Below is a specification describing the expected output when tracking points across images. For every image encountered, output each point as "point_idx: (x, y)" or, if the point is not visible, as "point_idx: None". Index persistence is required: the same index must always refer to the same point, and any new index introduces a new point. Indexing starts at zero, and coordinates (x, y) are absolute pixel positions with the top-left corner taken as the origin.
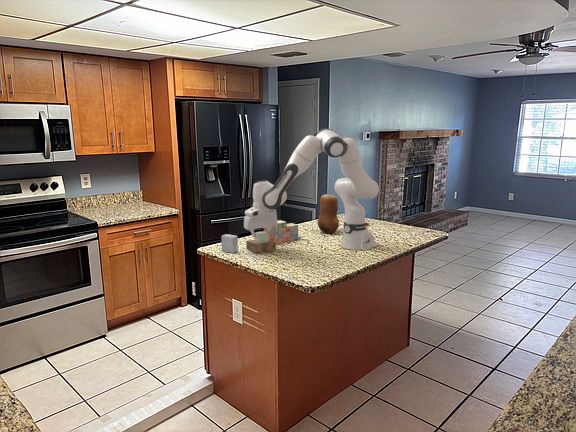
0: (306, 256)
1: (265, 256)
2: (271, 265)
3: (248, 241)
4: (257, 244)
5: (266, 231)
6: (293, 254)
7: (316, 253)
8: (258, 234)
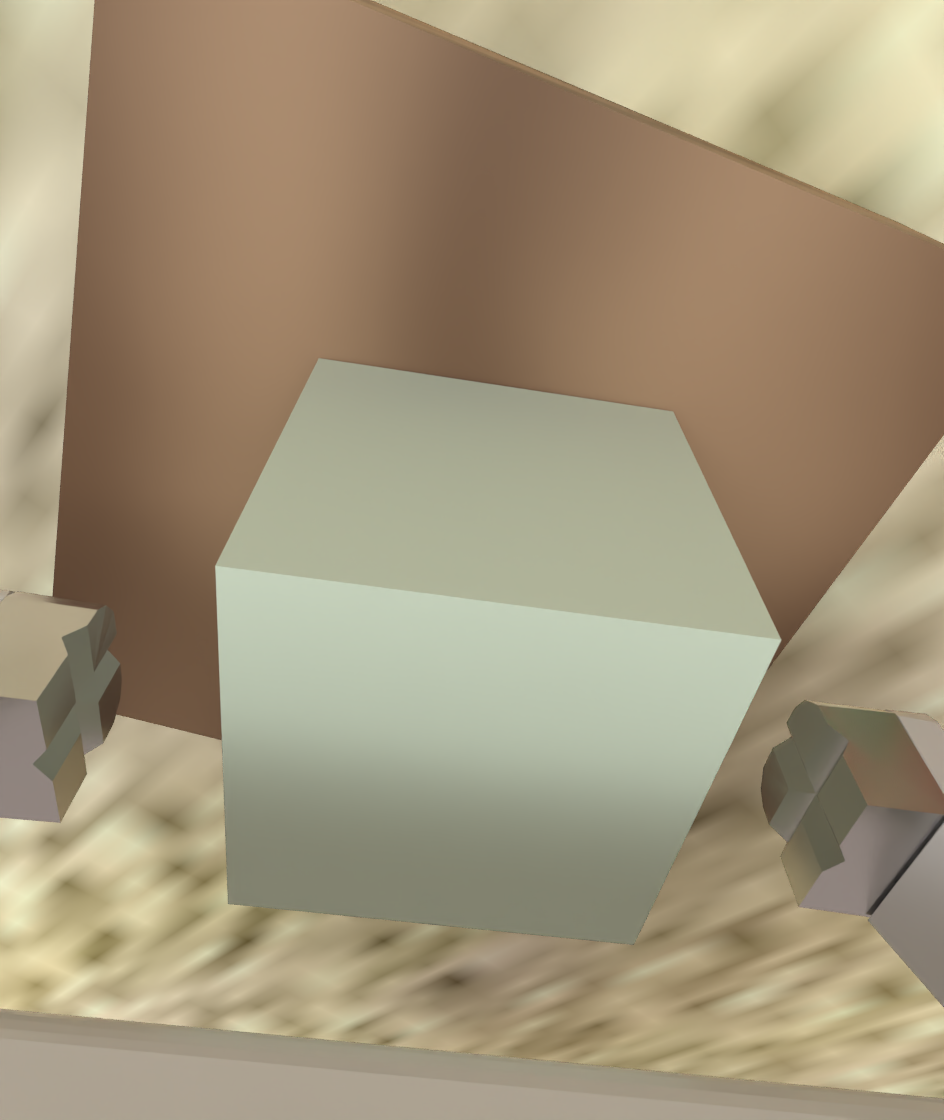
0: (675, 1037)
1: (218, 758)
2: (45, 991)
3: (110, 131)
4: (173, 649)
5: (846, 816)
6: (647, 929)
7: (882, 1045)
8: (231, 798)
